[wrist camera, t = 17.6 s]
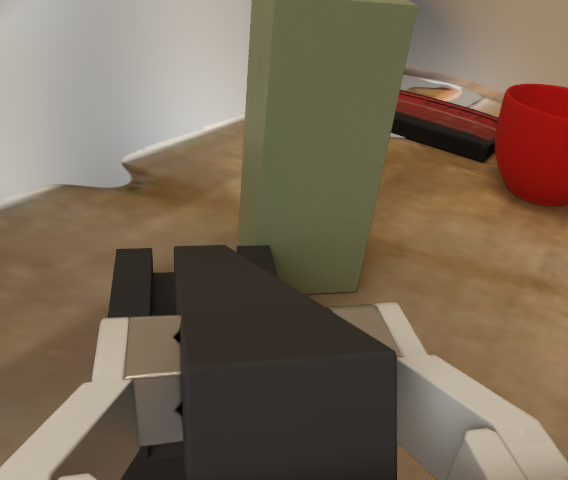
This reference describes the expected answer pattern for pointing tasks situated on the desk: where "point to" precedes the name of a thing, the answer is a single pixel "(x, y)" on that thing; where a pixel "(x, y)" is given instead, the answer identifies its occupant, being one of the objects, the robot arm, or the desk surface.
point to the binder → (445, 125)
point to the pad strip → (277, 379)
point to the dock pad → (158, 302)
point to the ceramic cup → (534, 143)
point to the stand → (319, 132)
